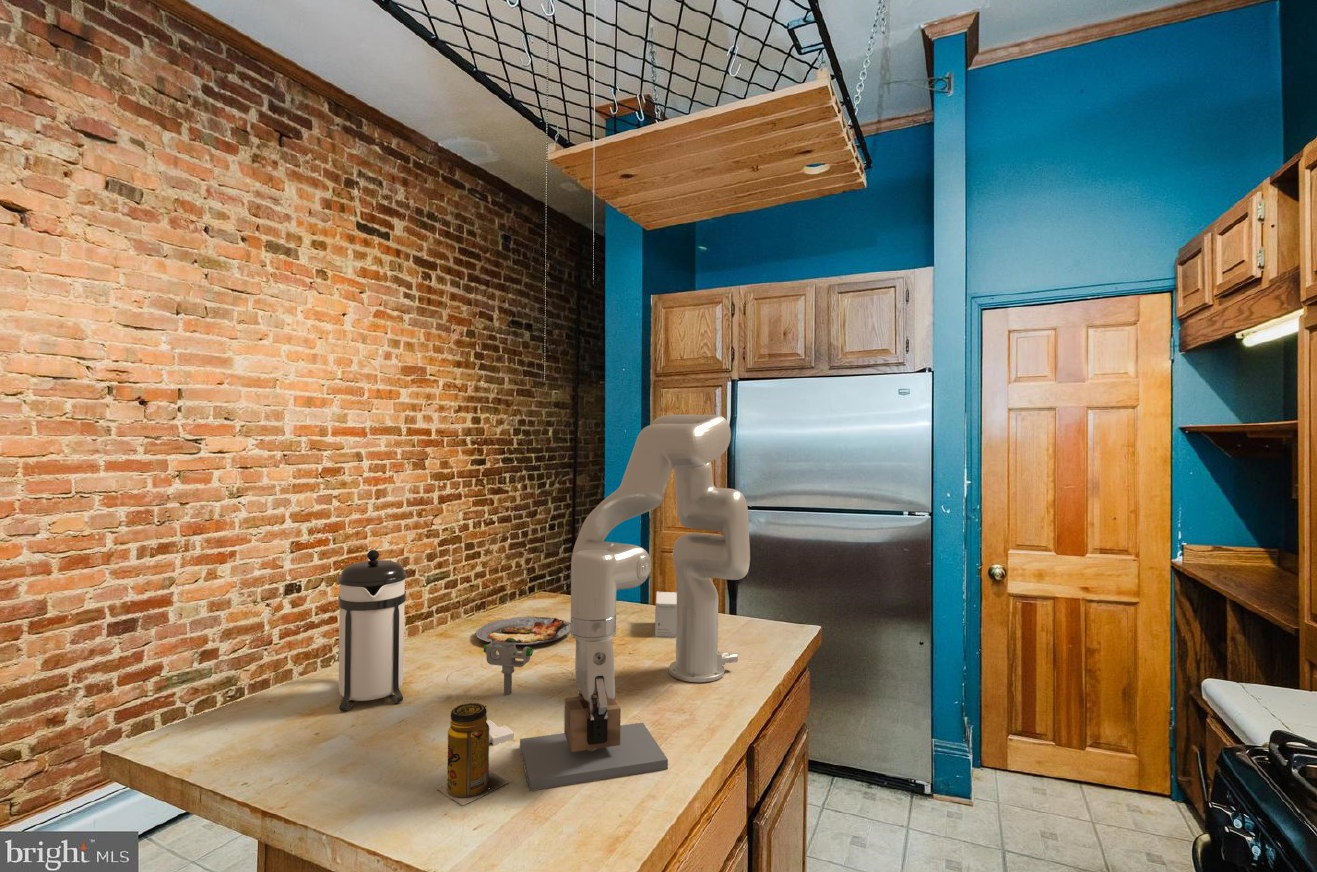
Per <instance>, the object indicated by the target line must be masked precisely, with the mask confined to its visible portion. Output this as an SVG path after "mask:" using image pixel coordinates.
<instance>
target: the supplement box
mask: <svg viewBox="0 0 1317 872" xmlns="http://www.w3.org/2000/svg"><path fill="white" fill-rule="evenodd" d="M655 595H656V596H655V610H654V612H655V613H654V615H655V617H654V619H655V621H654V622H655V624H654V625H655V627H654V637H656V638H658V637H659V638H660V637H661V638H662V637H663V638H676V613H677V591H675V592H673V591H671V592H669V591H656V594H655Z"/></svg>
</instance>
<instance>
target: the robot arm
mask: <svg viewBox="0 0 1317 872" xmlns="http://www.w3.org/2000/svg"><path fill="white" fill-rule="evenodd" d="M731 438H732V433H731V426H730V424H729V422H728V420H727V419H726V417H723V416H722V415H720V414H719V415H718V414H668V415H661V416H658V417H656V418H655V419H654V420H653V421H652V423H651V424H649V425H647V426H645V427H643V428H642V429H641V430H640V432H639V434H638V435H637V438H636V440H635V444H634V446H633V448H632V449H633V450H632V452H631V454H630V458H629V461H628V463H627V465H626V469H625V471H624V474H623V476H622V479H621V483H620V485H619V487H618V488H617V489H616V490H615V491H613V492H612V493H610V495H608V496H606V498H605V499H603V500H602V501H600V503H599V504H597V506H595V508H594V509H592V511H590V513H589V514H588V515H587V517H586V518H585V520H584V521H583V524H582V525H581V528H580V530H579V533H578V536H577V537H576V540H575V543H574V547H573V550H572V554H571V563H570V564H571V565H570V567H571V568H570V623H571V632H570V637H572V638H573V639H575V657H574V658H575V659H574V660H575V661H574V663H575V682H576V685H577V687H578V696H583V697H584V699H585V700H586V701H587V702H588V706H589V719H587V742H588V744H589V745H592V744H599V743H605V742H607V722H608V715H607V698H606V695H607V697H608V698H609V699H611V700H613V699H615V698H616V682H615V678H616V677H615V656H614V644H613V643H614V642H613V637H615V636H616V633H617V591H618V590H629V589H633V588H637V587H639V586H641V585H642V584H644V583H645V581H647V579H648V577H649V576H650V573H651V569H652V561H651V560H652V559H651V557H650V554H649V552H648V551H647V550H646V549H645V548H643V547H641V546H638V545H635V544H630V543H623V542H622V543H621V542H613V541H612V542H611V541H605V539H606V538H607V537H608V535H609V534H610V533H611V532H612V530H613V529H614V528H616V527H617V526H618V525H620V524H621V523H623V522H625V521H627V520H630V519H633V518H635V517H638V516H640V515H643V514H645V513H648V512H650V511H653V510H655V509H656V508H658V507H659V506H660V505H661V504H662V503H663V500H664V497H665V493H666V489H667V486H668V484H669V481H670V477H671V474H672V471H673V473H674V489H675V501H676V502H675V503H676V514H677V519H678V522H679V524H680V525H681V526H683V527H685V528H688V529H691V530H700V531H701V530H702V531H711V532H721V533H722V535H720V534H714V533H713V534H711V533H704V532H703V533H702V532H701V533H700V532H688V533H684V534H681V535H680V536H678V538H676V540H675V541H674V544H673V547H672V560H673V565H674V567H673V568H674V572H675V581H676V583H675V584H676V586H675V587H676V592H677V613H676V637H675V642H676V643H675V660H674V661H673V662H671V663H670V664H669V666H668V673H669V674H670V675H671V676H672V677H674V678H675V679H677V680H680V681H684V682H689V683H709V682H713V681H717V680H719V679H721V678H723V677H724V675H725V665H726V664H735V663H738V660H739V657H738V654H737V653H728V651H723V652H722V651H719V594H718V590H717V588H716V586H715V585H714V582H713V580H712V579H722V580H730V581H739V580H741V579H743V578H745V577H746V576H747V574H748V573H749V570H750V563H751V547H750V546H751V545H750V526H749V525H750V524H749V508H748V503H747V499H746V498H745V495H744V494H743V493H742V492H741V491H739V490H737V489H734V488H729V487H726V488H725V487H716V486H715V484H714V479H713V466H712V462H713V461H715V460H716V459H717V458H719V457H721V456H722V455H723V454H724V453H725V452H726V451H727V450H728V448H729V446H730V443H731ZM711 578H712V579H711ZM592 695H597V699H592V697H591V696H592ZM593 703H597V707H595V709H594V711H593Z"/></svg>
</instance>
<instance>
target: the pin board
mask: <svg viewBox="0 0 1317 872" xmlns="http://www.w3.org/2000/svg"><path fill="white" fill-rule="evenodd" d="M519 749H520V755H521V758H522V762H523V763H522V764H523V767H524V772H525V776H526V780H527V783H528V788H529V789H528V790H529V791H530V792H531V791H537V790H543V789H549V788H555V787H563V786H569V785H573V784H581V783H588V782H593V781H599V780H605V779H613V778H619V777H620V778H621V777H624V776H631V775H637V774H645V773H650V772H656V771H664V770H667V769H668V768H669V759H668V758H667V756H666V754H665V753H664V751H663V750H662V749H661V747H660V745H659V744H658V742H657V741H656V740H655V738H654V736H653V735H652V734H651V732H650V731H649V729H648V728H647V726H646V725H645V723H644V722H638V723H629V724H620V745H618V746H611V747H604V748H597V749H590V750H583V751H576V752H571V749H570V747H569V744H568V742H567V739H566V736H565V734H564V732H562V733H561V732H560V733H554V734H547V735H546V734H545V735H539V736H531V737H525V738H519Z"/></svg>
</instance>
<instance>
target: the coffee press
mask: <svg viewBox="0 0 1317 872" xmlns="http://www.w3.org/2000/svg"><path fill="white" fill-rule="evenodd" d="M366 557H367V559H368V560H365V561H364V560H363V561H359V562H355V563H352V564H349V565H348V566H346V567H345V568H343V569H342V571H341V573H340V575H339V576H338V577H337V584H338V585H339V595H338V598H337V599H338V601H337V602H338V605H337V606H338V608H339V616H338V617H339V621H338V623H339V624H338V629H339V630H338V632H339V635H338V692H339V694H340V696H342V700H341V702H340V704H339V709H338V710H339V711H341V712H345V713H346V712H349V711H350V710H351V708H352V707H353V705H354V703H355V702H360V701H361V702H364V701H365V702H366V701H373V700H379V699H382V698H389V700H390V701H391V702H392V703H393V704H394V705H398V704H399V703H402V702H403V701H404V697H403V694H402V692H401V690H400V689H401V687H402V685H403V684H404V673H405V672H404V667H405V666H404V663H405V662H404V660H405V659H404V657H405V656H404V655H405V652H404V651H405V603H406V600H407V598H406V595H407V594H406V593H407V591H406V590H405V589H406V587H405V586H406V585H405V583H406V579H407V577H408V573H407V572H406V571H405V568H404V567H403V565H402V564H400V563H398V562H396V561H392V560H384V559H383V560H382V559H379V557H380V552H379V551H378V550H376V549H371V550H369V551H368V553H367V554H366ZM378 559H379V560H378Z"/></svg>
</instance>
